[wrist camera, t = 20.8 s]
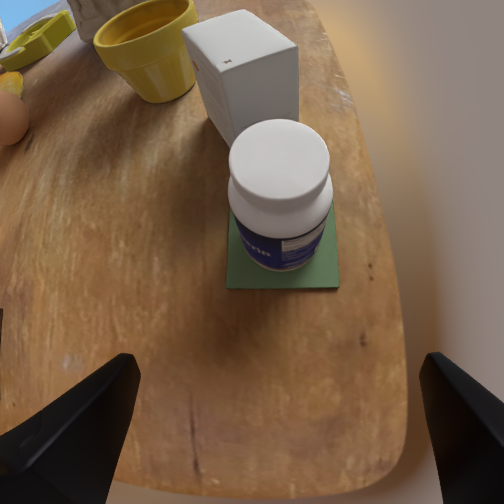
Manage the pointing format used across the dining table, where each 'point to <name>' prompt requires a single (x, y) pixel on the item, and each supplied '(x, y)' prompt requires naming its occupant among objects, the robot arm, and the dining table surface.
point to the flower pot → (150, 48)
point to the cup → (2, 37)
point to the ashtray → (37, 40)
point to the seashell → (12, 83)
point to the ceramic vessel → (97, 14)
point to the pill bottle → (280, 192)
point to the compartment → (0, 313)
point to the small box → (243, 71)
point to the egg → (12, 118)
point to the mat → (307, 276)
